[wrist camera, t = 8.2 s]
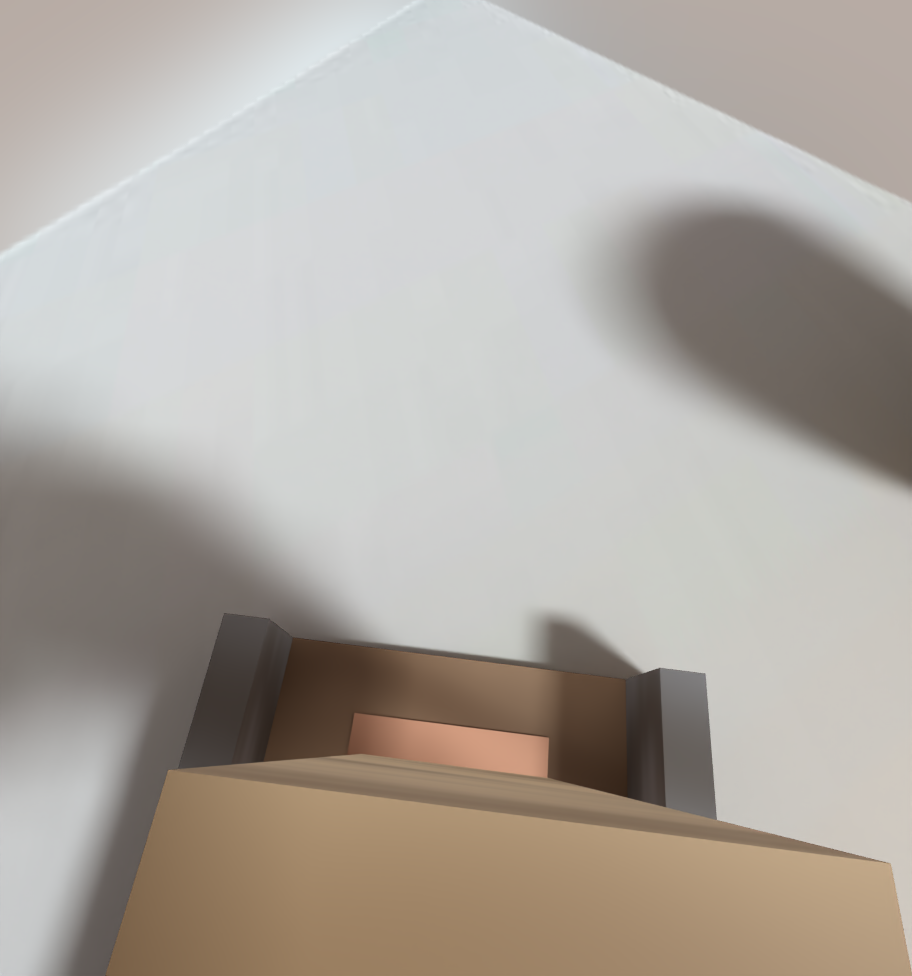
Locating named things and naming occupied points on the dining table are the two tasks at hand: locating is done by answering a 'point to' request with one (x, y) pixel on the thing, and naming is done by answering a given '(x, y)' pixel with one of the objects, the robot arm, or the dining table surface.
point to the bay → (452, 715)
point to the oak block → (482, 882)
